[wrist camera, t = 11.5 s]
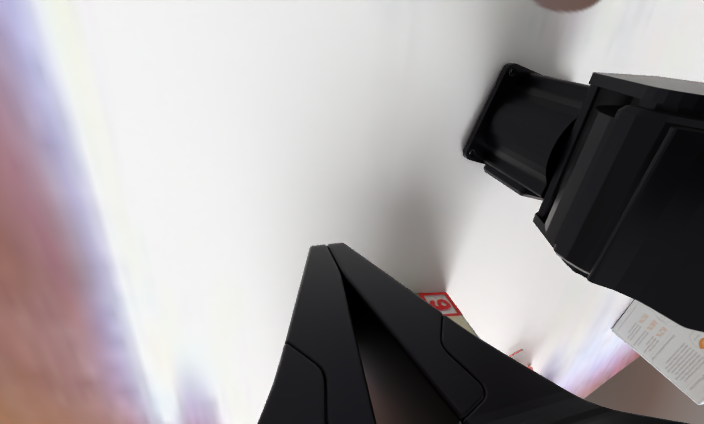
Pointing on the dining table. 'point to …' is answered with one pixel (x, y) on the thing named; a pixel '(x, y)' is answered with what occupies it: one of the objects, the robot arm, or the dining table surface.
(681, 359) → the small box
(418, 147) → the dining table surface
